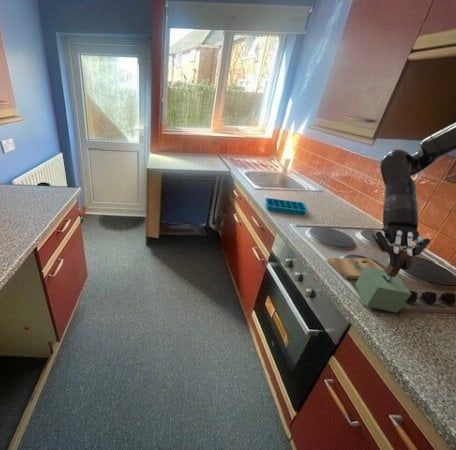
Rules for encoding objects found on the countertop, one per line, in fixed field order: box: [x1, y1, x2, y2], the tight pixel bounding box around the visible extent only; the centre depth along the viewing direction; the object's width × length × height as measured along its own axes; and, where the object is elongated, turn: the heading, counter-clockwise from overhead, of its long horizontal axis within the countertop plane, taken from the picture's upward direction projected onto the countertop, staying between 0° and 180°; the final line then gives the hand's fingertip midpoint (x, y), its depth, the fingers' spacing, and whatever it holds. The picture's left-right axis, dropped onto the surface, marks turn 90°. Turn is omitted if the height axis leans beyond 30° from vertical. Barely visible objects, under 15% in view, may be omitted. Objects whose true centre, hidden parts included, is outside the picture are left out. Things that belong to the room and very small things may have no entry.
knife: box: [383, 249, 409, 283], centre depth 75 cm, size 3×2×17 cm
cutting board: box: [327, 257, 385, 280], centre depth 92 cm, size 16×10×2 cm, turn 92°
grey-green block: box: [354, 267, 412, 314], centre depth 78 cm, size 10×8×8 cm
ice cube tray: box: [264, 197, 309, 216], centre depth 135 cm, size 12×20×3 cm, turn 73°
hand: (400, 268), depth 71 cm, fingers closed on knife, 1 cm apart
